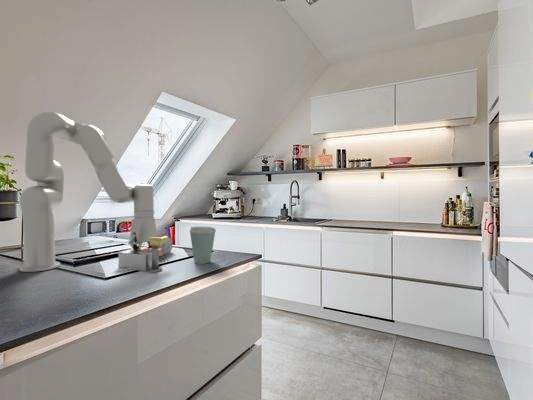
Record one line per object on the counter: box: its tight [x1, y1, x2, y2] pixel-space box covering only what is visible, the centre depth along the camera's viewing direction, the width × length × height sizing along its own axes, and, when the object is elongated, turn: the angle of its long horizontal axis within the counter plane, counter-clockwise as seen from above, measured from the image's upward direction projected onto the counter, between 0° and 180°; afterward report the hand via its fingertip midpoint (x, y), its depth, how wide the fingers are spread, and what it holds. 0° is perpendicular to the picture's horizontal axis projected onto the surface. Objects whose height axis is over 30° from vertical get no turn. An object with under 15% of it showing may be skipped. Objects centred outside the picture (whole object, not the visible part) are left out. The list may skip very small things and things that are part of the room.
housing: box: [117, 246, 163, 273], centre depth 116 cm, size 19×5×9 cm, turn 66°
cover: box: [126, 246, 162, 256], centre depth 126 cm, size 13×6×2 cm, turn 66°
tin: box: [158, 235, 173, 258], centre depth 140 cm, size 15×3×8 cm, turn 172°
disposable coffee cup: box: [189, 225, 217, 265], centre depth 126 cm, size 11×11×15 cm
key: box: [149, 235, 169, 246], centre depth 117 cm, size 11×4×3 cm, turn 172°
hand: (144, 257), depth 126 cm, fingers closed on cover, 6 cm apart
